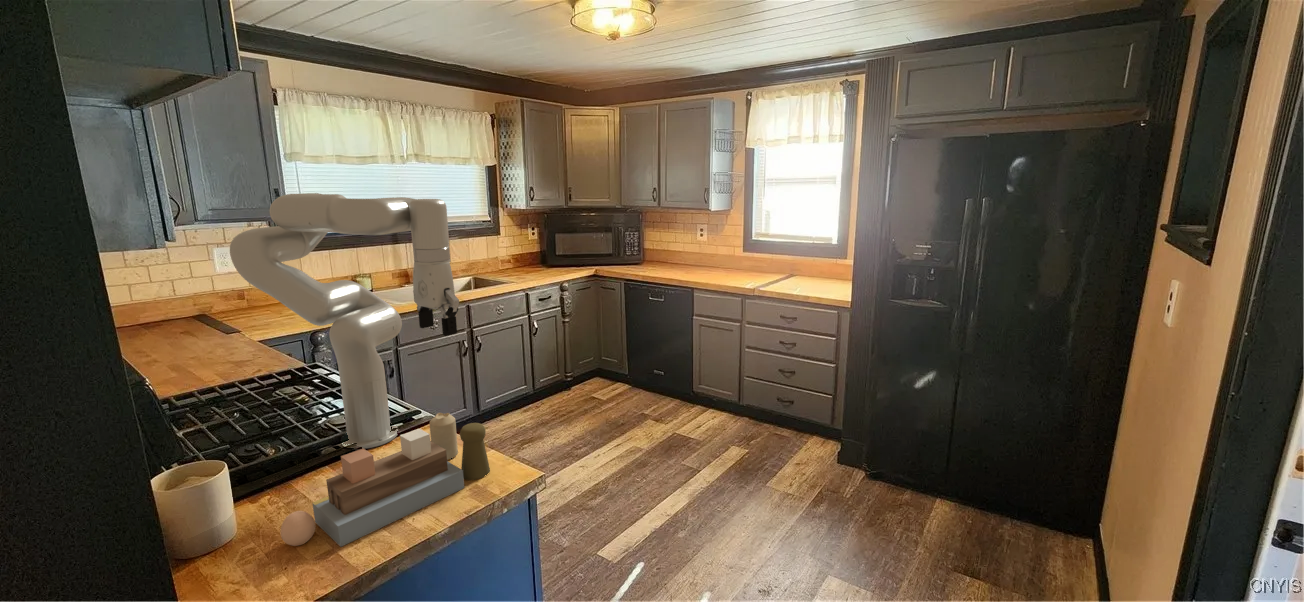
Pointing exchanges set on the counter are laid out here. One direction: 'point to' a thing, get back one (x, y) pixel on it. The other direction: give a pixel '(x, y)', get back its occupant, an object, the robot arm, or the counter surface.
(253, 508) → the counter surface
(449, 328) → the robot arm
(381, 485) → the brown wooden bar
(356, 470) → the salmon pink cube
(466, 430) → the olive pepper mill
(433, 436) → the candle
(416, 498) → the block
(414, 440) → the white cube
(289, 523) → the egg
